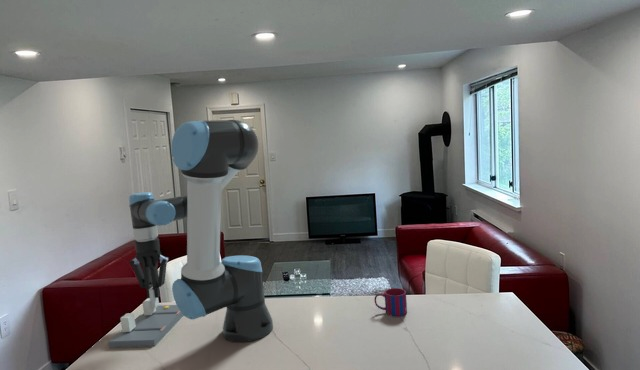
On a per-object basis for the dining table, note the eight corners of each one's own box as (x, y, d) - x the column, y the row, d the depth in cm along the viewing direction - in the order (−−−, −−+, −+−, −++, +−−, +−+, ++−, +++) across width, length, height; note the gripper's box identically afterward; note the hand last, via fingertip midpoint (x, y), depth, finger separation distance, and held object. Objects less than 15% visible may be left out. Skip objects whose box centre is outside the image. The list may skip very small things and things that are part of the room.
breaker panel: (154, 346, 124) (153, 338, 124) (109, 347, 125) (108, 340, 125) (189, 309, 150) (188, 303, 149) (151, 311, 151) (150, 304, 151)
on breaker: (129, 331, 130) (128, 317, 129) (122, 332, 130) (120, 318, 130) (135, 326, 133) (134, 313, 133) (128, 326, 134) (126, 313, 133)
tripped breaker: (151, 315, 142) (149, 302, 141) (144, 315, 142) (142, 302, 141) (156, 310, 145) (154, 298, 145) (149, 311, 145) (147, 298, 145)
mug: (406, 317, 130) (405, 296, 130) (374, 316, 133) (373, 295, 132) (407, 308, 137) (406, 288, 136) (376, 307, 139) (375, 287, 138)
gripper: (170, 235, 144) (178, 301, 146) (133, 237, 145) (142, 302, 148) (160, 240, 136) (168, 310, 139) (121, 242, 137) (131, 311, 140)
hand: (155, 306), depth 143 cm, fingers closed
